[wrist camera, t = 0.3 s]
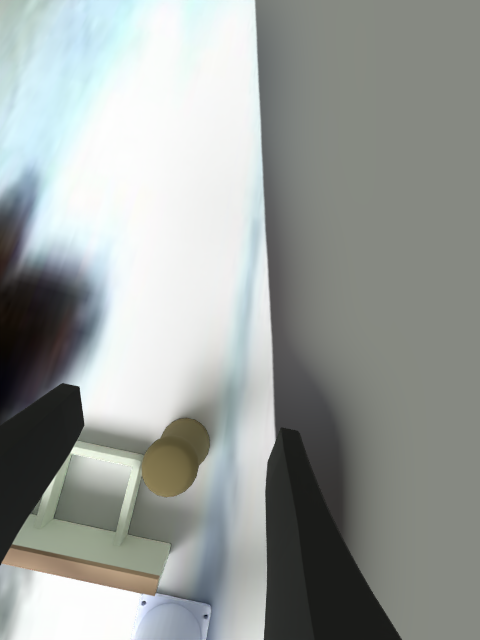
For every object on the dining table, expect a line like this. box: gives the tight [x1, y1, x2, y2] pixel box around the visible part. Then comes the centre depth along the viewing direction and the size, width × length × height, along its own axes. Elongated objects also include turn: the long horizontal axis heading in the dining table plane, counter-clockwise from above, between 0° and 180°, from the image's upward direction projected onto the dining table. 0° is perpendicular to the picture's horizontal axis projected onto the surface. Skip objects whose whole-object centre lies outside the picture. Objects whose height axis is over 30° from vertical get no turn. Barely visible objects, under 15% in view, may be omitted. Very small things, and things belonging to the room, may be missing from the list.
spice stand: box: [2, 441, 171, 596], centre depth 33 cm, size 10×20×7 cm, turn 78°
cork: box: [142, 418, 210, 497], centre depth 32 cm, size 6×6×11 cm
